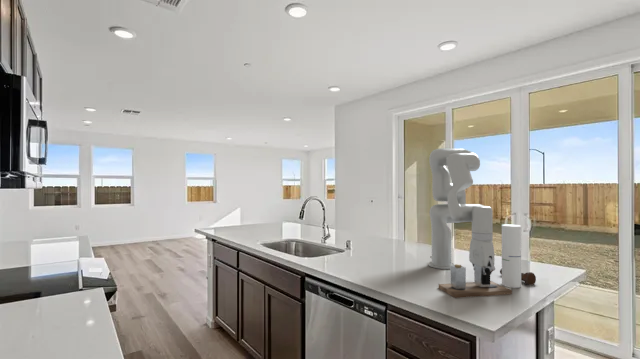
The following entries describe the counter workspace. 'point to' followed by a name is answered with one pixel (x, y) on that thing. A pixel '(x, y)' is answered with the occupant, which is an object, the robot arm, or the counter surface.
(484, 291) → the wooden tray with canisters
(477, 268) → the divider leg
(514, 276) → the cylindrical container
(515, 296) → the counter surface
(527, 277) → the brown knobbed rod
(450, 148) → the robot arm
